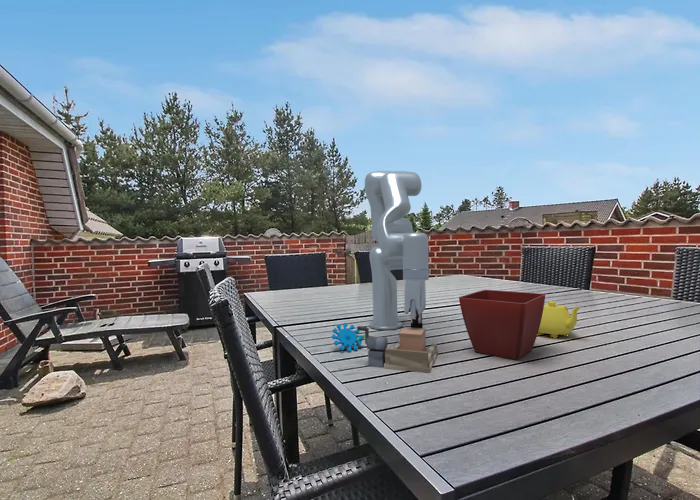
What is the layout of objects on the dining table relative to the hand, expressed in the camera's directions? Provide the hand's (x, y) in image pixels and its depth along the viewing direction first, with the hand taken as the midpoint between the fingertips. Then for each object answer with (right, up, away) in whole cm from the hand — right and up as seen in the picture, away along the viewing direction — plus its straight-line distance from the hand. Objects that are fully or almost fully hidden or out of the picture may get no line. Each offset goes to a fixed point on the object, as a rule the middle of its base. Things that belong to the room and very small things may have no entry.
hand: (416, 335), depth 112 cm
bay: (-6, -6, -5) cm, 9 cm away
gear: (-20, -6, +7) cm, 22 cm away
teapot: (+51, -4, +18) cm, 54 cm away
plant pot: (+26, -5, +1) cm, 26 cm away
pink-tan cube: (-2, -4, -5) cm, 7 cm away
